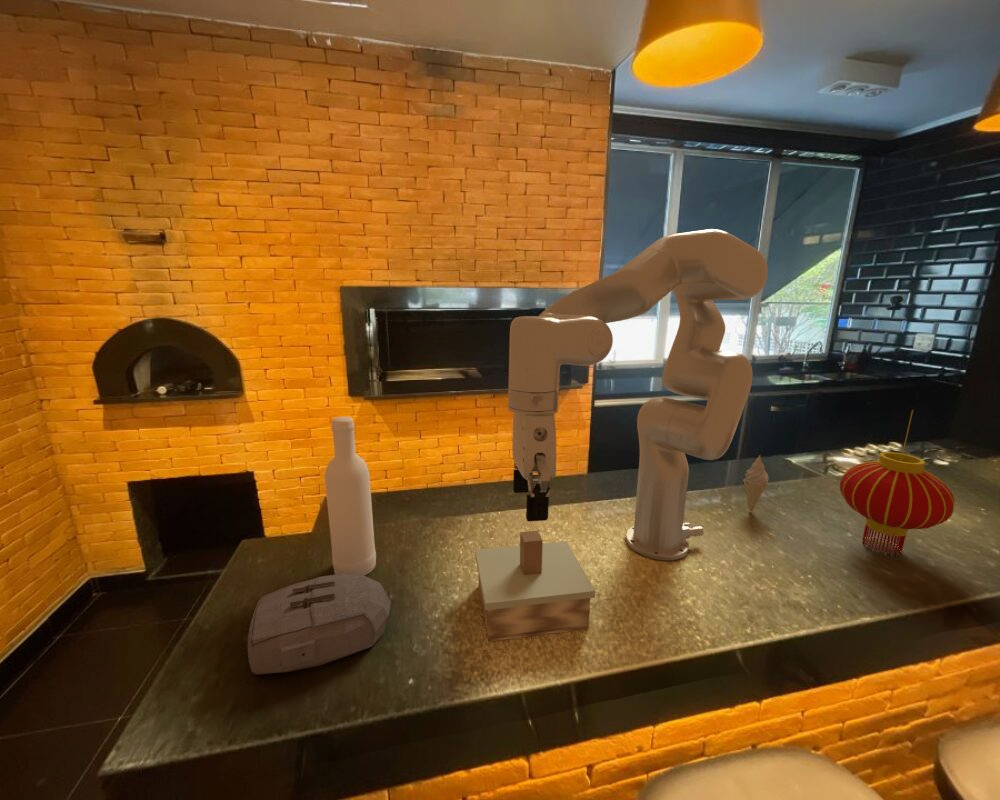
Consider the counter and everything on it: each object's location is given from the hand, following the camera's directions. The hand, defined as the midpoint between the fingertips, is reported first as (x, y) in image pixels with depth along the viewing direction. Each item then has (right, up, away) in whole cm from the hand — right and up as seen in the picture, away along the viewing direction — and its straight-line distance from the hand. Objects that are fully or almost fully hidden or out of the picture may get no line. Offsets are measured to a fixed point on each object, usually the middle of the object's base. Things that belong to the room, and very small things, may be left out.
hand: (529, 505), depth 67 cm
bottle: (-33, -16, +15) cm, 39 cm away
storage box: (0, -18, +5) cm, 19 cm away
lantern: (+76, -15, +22) cm, 80 cm away
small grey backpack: (-32, -20, -1) cm, 38 cm away
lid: (0, -12, +3) cm, 13 cm away
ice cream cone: (+57, -11, +37) cm, 68 cm away
